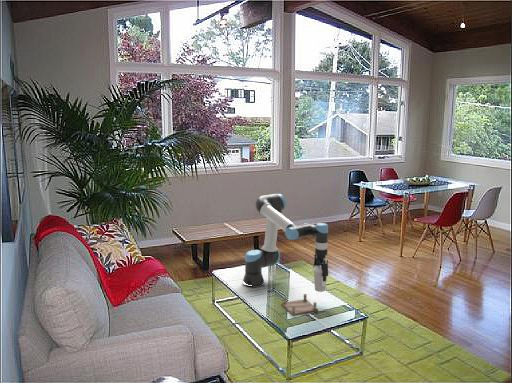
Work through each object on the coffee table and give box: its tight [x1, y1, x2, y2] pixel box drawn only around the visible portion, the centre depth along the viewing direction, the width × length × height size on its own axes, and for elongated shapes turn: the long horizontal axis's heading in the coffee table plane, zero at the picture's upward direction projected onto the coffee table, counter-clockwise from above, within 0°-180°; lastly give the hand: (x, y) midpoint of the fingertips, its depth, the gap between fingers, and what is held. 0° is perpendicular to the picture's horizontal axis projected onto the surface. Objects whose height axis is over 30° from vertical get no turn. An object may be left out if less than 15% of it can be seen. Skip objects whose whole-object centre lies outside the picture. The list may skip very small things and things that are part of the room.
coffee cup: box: [312, 265, 328, 293], centre depth 266 cm, size 10×10×15 cm
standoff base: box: [281, 293, 319, 316], centre depth 261 cm, size 17×17×5 cm
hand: (320, 283), depth 266 cm, fingers closed on coffee cup, 8 cm apart
